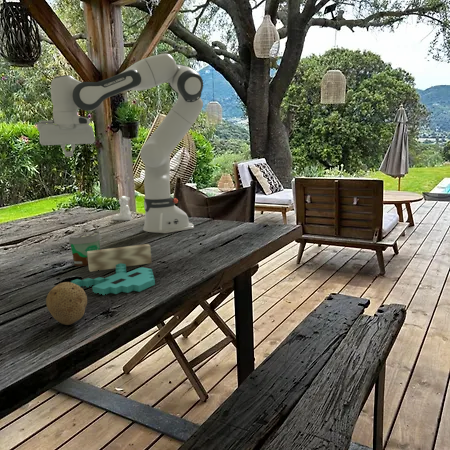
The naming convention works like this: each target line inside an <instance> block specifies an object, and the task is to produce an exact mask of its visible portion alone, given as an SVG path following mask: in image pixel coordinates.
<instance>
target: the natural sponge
mask: <svg viewBox="0 0 450 450" xmlns="http://www.w3.org/2000/svg"><path fill="white" fill-rule="evenodd" d="M45 304H46V308H47V310H48V311H49V313H50V314H51V316H52V317H53V319H54V320H56V321H57V322H58V323H60V324H61V325H64V326H65V325H66V326H69V325H72V324H75V323H76V322H78V321H79V320H81V319H82V318H83V316H84V314H85V311H86V308H87V305H88V296H87V294H86V292H85V290H84V288H82V287H80V286H78V285H76V284H74V283H71V281H64V282H59V283H58V284H56V285H55V286H54V287H52V288H51V289H50V290H49V292H48V294H47V295H46V299H45Z"/></svg>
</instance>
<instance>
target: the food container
mask: <svg viewBox="0 0 450 450" xmlns="http://www.w3.org/2000/svg"><path fill="white" fill-rule="evenodd" d="M101 240H102V235H101V232H100V231H99V230H96V229H95V230H93V232H92V233H88V234H81V235H80V236H78V237H72V236H71V237H70V236H69V239H68V244H70V247H71V248H70V249H71V253H72V258H73V259H72V260H73V265H74V266H75V267H88V255H87V251H94V250H101V249H100V247H101V246H100V244H101V243H100V241H101Z"/></svg>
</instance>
